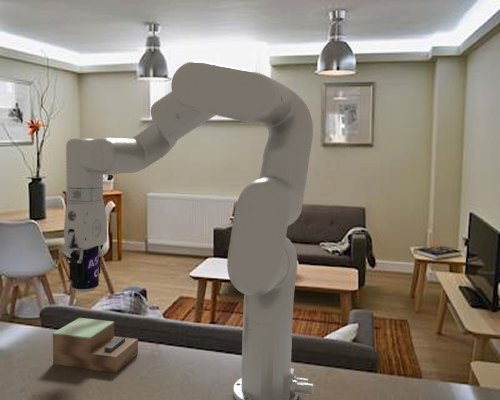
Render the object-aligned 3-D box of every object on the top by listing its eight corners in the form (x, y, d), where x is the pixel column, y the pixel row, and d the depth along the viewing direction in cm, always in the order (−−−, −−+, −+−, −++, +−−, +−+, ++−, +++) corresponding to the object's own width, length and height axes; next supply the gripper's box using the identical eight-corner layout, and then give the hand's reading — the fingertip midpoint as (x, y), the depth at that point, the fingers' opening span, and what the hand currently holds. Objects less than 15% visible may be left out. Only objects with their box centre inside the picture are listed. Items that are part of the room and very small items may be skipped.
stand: (137, 353, 109) (137, 324, 108) (116, 373, 99) (116, 340, 98) (79, 346, 112) (79, 317, 111) (53, 364, 102) (52, 332, 102)
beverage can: (90, 294, 101) (89, 238, 100) (66, 291, 102) (65, 237, 101) (103, 286, 107) (103, 234, 106) (80, 284, 108) (80, 233, 107)
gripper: (77, 199, 93) (77, 289, 95) (120, 193, 110) (120, 269, 112) (44, 198, 95) (45, 285, 97) (91, 192, 112) (91, 266, 114)
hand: (85, 276), depth 104 cm, fingers closed on beverage can, 5 cm apart
